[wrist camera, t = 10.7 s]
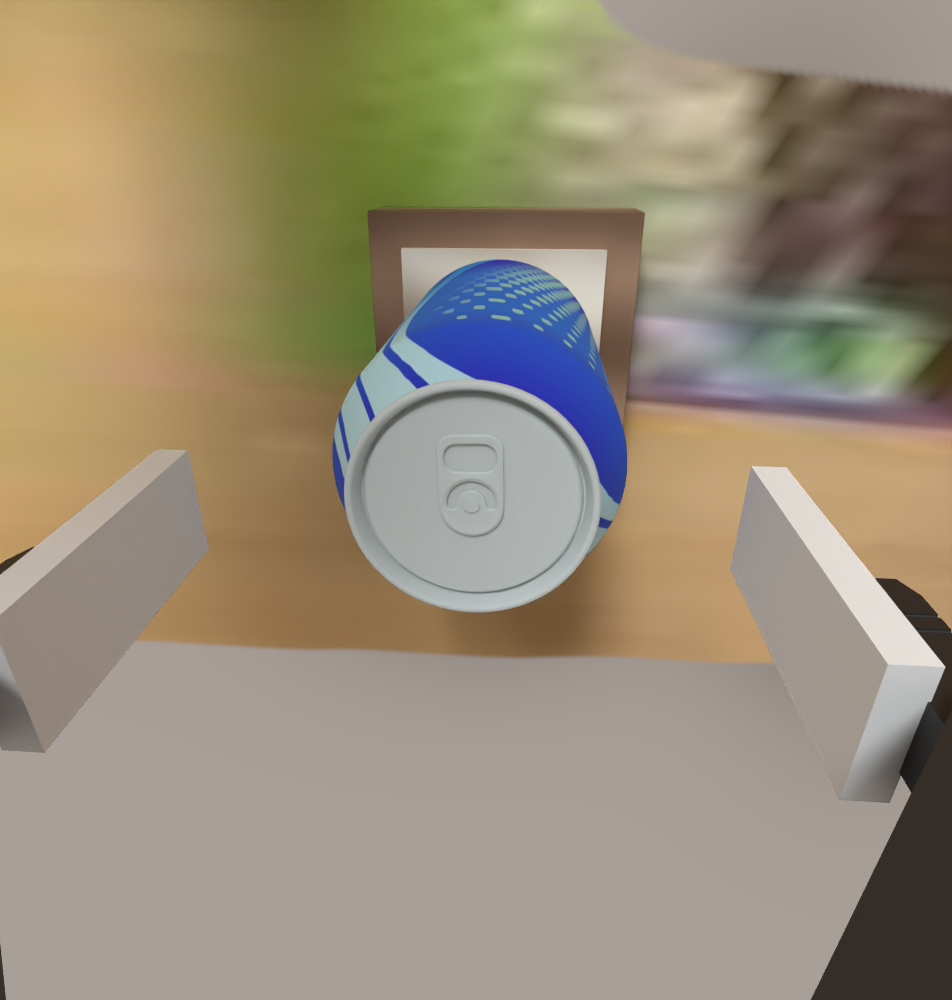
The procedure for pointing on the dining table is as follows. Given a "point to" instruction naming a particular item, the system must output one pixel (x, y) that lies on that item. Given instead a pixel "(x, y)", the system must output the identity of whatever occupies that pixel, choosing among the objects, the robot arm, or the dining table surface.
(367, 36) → the dining table surface
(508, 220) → the base slab
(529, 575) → the beer can
